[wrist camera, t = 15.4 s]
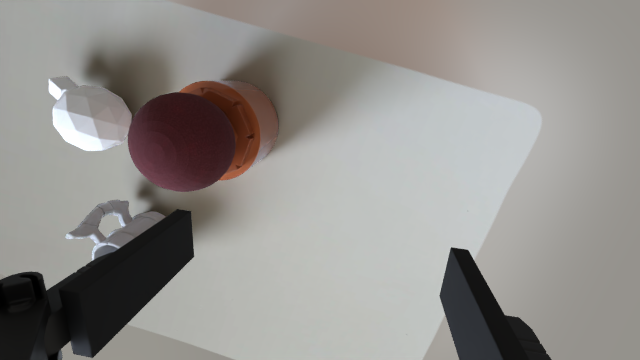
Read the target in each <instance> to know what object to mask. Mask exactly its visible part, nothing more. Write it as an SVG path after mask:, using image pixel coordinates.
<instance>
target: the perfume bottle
mask: <svg viewBox="0 0 640 360" xmlns="http://www.w3.org/2000/svg"><path fill="white" fill-rule="evenodd" d="M49 92H50V93H51V94H52V95H53V96H54V97H55V98H56V99H57V100H58V101H57V102H56V104H55V105H54V107H53V124H54V126H55V127H56V129H57V130H58V131H59V133H60V134H61V135H62V137H63V138H64V139H65V141H66V142H69V143H71V144H73V145H75V146H77V147H79V148H81V149H84V150H86V151H97V150H106V149H109V148H112V147H114V146H117V145H120V144H122V143H123V142H124V140H125V138H126V136H127V134H128V132H129V127H130V124H131V119H132V114H131V112H130V110H129V109H128V107H127V106H126V104H125V102H124V101H123V99H122V98H121V97H119V96H117V95H116V94H114V93H112V92H111V91H109V90H107V89H105V88H104V87H96V86H85V85H83V86H80V87H79V86H78V85H76V84H75V83H74V82H73V81H72V80H71V79H70V78H69V77H68V76H63V77H57V78H50V79H49Z"/></svg>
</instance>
